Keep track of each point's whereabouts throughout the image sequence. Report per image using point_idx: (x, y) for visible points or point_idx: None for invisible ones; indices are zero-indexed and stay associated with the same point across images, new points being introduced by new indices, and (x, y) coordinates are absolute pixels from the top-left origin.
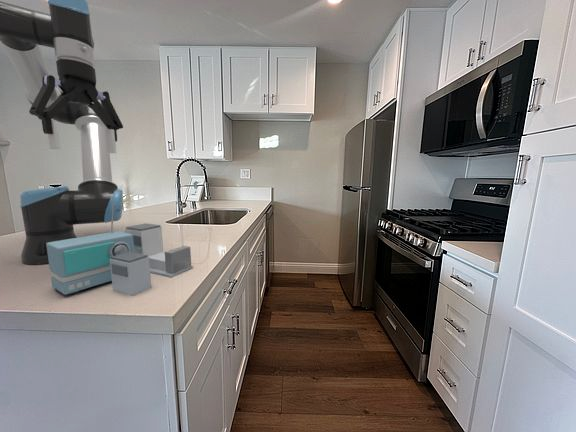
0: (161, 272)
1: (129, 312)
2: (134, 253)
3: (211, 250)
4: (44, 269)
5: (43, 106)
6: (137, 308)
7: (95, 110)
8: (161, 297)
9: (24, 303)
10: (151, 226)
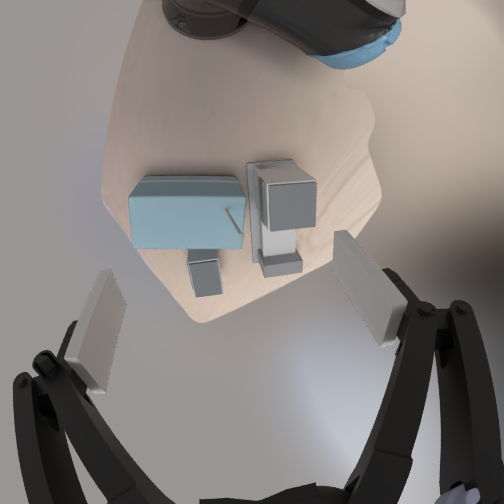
0: (254, 244)
1: (177, 298)
2: (216, 275)
3: (368, 216)
4: (168, 63)
5: (60, 435)
6: (185, 297)
7: (371, 439)
8: (211, 296)
9: (115, 195)
10: (297, 224)
